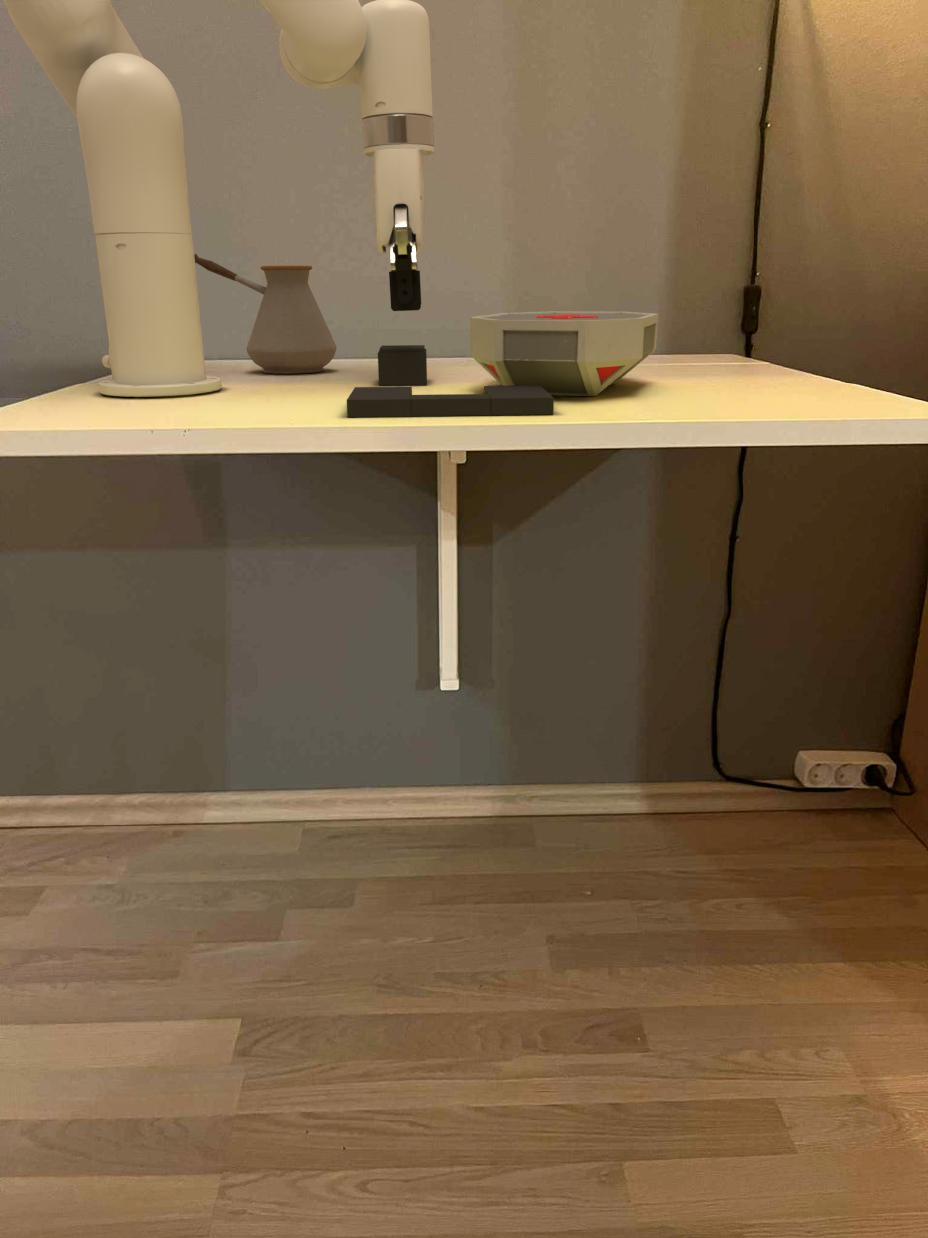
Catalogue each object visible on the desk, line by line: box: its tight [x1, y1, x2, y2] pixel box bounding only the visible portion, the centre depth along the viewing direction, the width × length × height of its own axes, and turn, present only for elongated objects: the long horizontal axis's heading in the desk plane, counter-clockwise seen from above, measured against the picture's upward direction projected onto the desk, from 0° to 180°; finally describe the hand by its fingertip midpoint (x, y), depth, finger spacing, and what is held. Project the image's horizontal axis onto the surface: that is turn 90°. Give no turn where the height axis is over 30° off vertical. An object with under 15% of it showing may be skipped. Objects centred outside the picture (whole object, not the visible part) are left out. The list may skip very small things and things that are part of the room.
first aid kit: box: [469, 310, 659, 397], centre depth 101 cm, size 18×8×25 cm
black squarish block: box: [377, 344, 428, 387], centre depth 108 cm, size 5×5×4 cm
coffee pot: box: [194, 253, 338, 375], centre depth 122 cm, size 21×12×15 cm, turn 74°
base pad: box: [346, 385, 555, 418], centre depth 87 cm, size 18×10×2 cm, turn 92°
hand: (406, 308), depth 106 cm, fingers open, 9 cm apart
